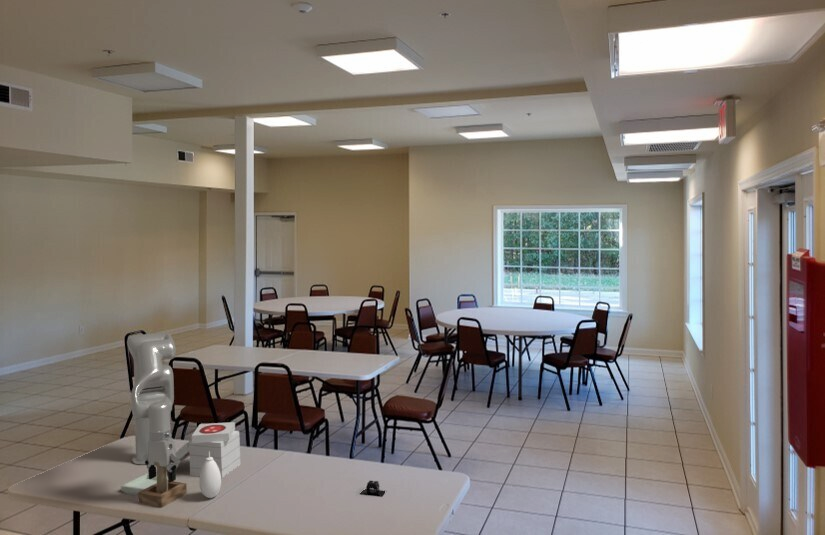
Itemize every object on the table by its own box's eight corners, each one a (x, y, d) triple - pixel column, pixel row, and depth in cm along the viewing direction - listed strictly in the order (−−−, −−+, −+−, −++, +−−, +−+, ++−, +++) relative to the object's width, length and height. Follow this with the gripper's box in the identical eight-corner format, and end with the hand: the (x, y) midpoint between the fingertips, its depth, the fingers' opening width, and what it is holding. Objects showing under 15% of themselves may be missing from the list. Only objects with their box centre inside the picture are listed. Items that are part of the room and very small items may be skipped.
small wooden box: (164, 489, 234) (163, 479, 234) (186, 493, 230) (186, 483, 230) (138, 502, 223) (138, 492, 223) (161, 507, 219) (161, 497, 218)
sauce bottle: (202, 503, 221) (200, 456, 220) (198, 496, 228) (196, 450, 227) (224, 498, 225) (222, 452, 224) (218, 491, 232) (217, 445, 231)
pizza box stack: (186, 458, 267) (185, 419, 266) (247, 463, 260) (245, 422, 259) (159, 475, 248) (157, 433, 247) (223, 480, 241) (221, 437, 240)
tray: (147, 479, 245) (147, 473, 245) (169, 483, 240) (169, 477, 240) (121, 492, 233) (120, 485, 233) (144, 496, 228) (143, 490, 228)
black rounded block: (391, 491, 229) (391, 480, 229) (385, 500, 222) (384, 488, 222) (361, 488, 233) (361, 477, 233) (354, 496, 226) (354, 484, 226)
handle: (164, 502, 223) (162, 463, 222) (151, 499, 226) (149, 460, 225) (174, 496, 227) (172, 458, 227) (161, 494, 230) (159, 456, 229)
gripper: (185, 434, 225) (187, 478, 226) (150, 430, 232) (152, 473, 233) (170, 440, 218) (172, 486, 219) (135, 436, 225) (137, 480, 226)
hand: (162, 479), depth 226 cm, fingers open, 9 cm apart
